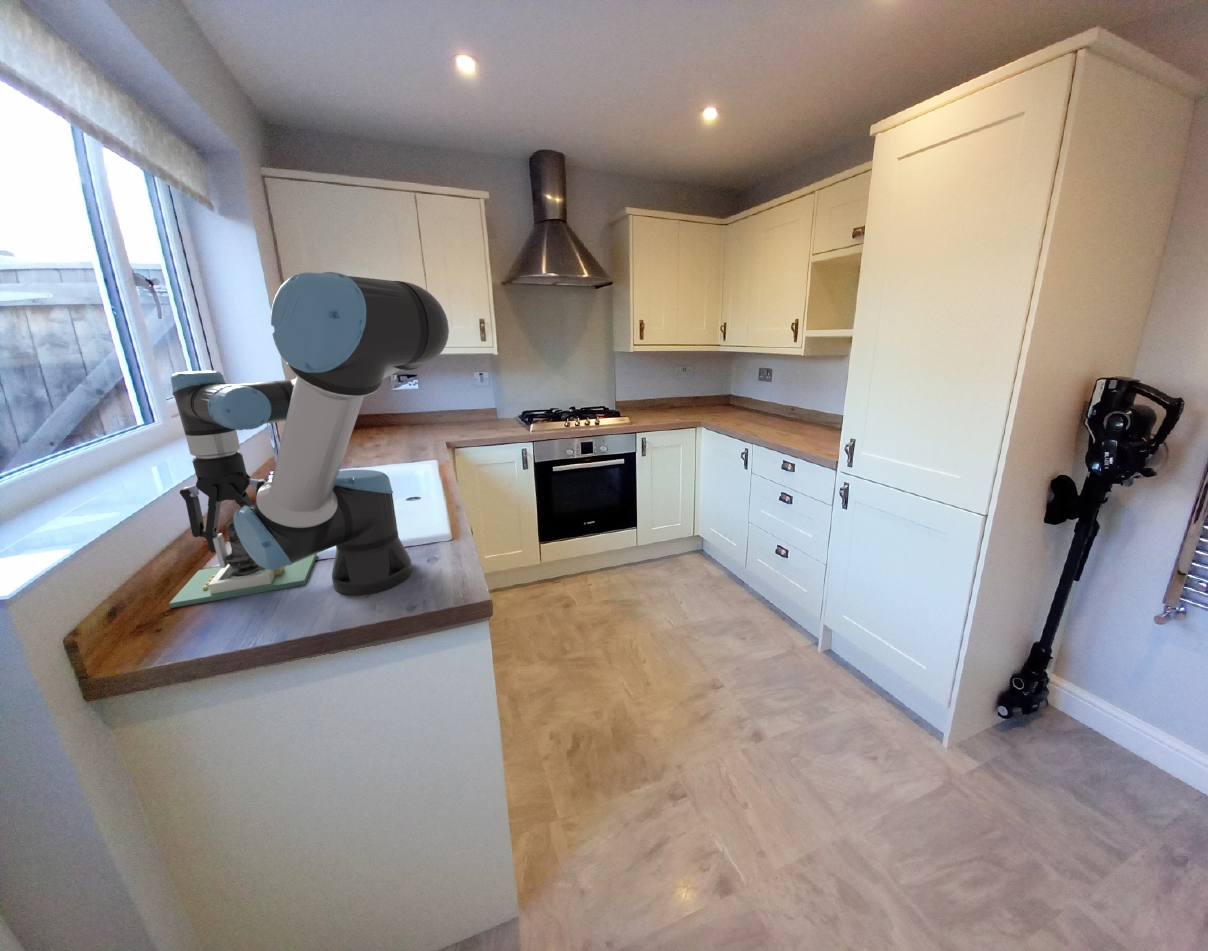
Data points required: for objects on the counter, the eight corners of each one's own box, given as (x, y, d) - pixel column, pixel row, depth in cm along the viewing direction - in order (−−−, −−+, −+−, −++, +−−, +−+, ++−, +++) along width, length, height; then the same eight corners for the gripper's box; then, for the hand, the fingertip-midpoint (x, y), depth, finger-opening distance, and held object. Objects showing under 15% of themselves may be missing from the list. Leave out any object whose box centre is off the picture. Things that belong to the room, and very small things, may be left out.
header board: (316, 556, 108) (314, 544, 107) (305, 584, 95) (302, 571, 94) (199, 574, 100) (196, 561, 99) (170, 608, 87) (165, 594, 86)
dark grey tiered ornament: (270, 563, 99) (258, 511, 95) (251, 577, 93) (237, 522, 90) (242, 563, 99) (228, 511, 95) (221, 577, 93) (206, 522, 90)
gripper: (279, 445, 95) (301, 547, 102) (163, 453, 89) (195, 562, 95) (270, 453, 89) (294, 561, 95) (143, 463, 82) (179, 579, 89)
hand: (244, 562), depth 95 cm, fingers closed on dark grey tiered ornament, 6 cm apart
